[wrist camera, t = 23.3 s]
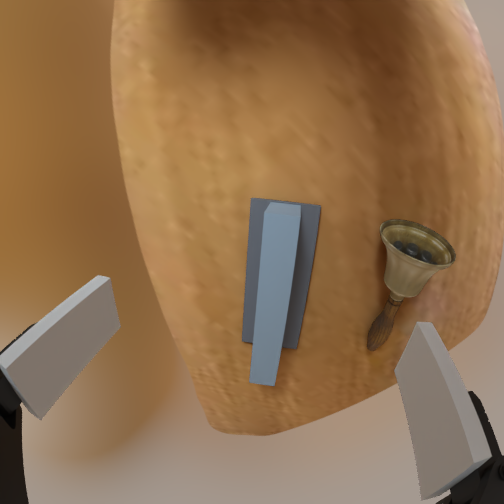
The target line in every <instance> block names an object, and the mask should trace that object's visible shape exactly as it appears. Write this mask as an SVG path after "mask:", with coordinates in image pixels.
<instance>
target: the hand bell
mask: <svg viewBox="0 0 504 504" xmlns="http://www.w3.org/2000/svg"><path fill="white" fill-rule="evenodd" d="M380 235H381V238H382V241H383V242H384V244H385V246H386V249H387V264H386V269H385V273H384V281H385V284H386V285H387V287H388V288H389V289H390V290H391V292H390V295H389V298H388V300H387V303H386V305H385V308H384V310H383V312H382V313H381V314H380V315H379V316H378V317H377V318H376V319H375V321H374V322H373V324H372V326H371V328H370V330H369V333H368V344H367V348H368V350H370V351H374V350H375V349H376V348H378V347H379V346H380V345H382V344H383V343H384V342H385V341H386V340H387V338H388V336H389V335H390V332H391V330H392V327H393V321H394V317H395V314H396V312H397V311H398V309H399V307H400V305H401V303H402V302H403V299H404V297H414V296H416V295H418V294H419V293H420V292H421V290H422V288H423V287H424V285H425V284H426V282H427V281H428V280H429V279H430V277H431V276H432V275H433V274H435V273H436V272H437V271H439V270H442V269H445V268H448V267H449V266H451V265H452V264H453V263H454V261H455V258H456V254H455V251H454V249H453V248H452V246H451V245H450V244H449V242H448V241H447V240H446V239H444V238H443V237H442V236H441V235H439V234H438V233H436V232H435V231H433V230H431V229H429V228H427V227H425V226H423V225H420V224H418V223H414V222H410V221H406V220H389V221H386V222H383V223H382V224H381V226H380Z"/></svg>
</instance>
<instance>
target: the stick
mask: <svg viewBox="0 0 504 504" xmlns="http://www.w3.org/2000/svg"><path fill="white" fill-rule="evenodd" d="M300 218H301V205H293V204H285V203H276V202H270V204H269V206H268V207H267V209H266V211H265V212H264V221H263V234H262V246H261V258H260V269H259V281H258V292H257V304H256V315H255V326H254V337H253V348H252V359H251V369H250V380H249V382H250V383H256V384H262V385H269V386H275V381H276V375H277V370H278V365H279V359H280V354H281V348H282V342H283V336H284V330H285V324H286V318H287V312H288V306H289V299H290V293H291V286H292V279H293V272H294V265H295V258H296V250H297V242H298V234H299V226H300Z"/></svg>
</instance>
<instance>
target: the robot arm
mask: <svg viewBox="0 0 504 504" xmlns="http://www.w3.org/2000/svg"><path fill="white" fill-rule="evenodd" d="M120 327H121V326H120V322H119V318H118V313H117V309H116V304H115V300H114V295H113V289H112V284H111V279H110V278H109V277H104V276H100V275H98V276H96V277H95V278H94V279H92V280H91V281H90V282H88V283H87V284H86V285H84V286H83V287H82V288H80V289H79V290H78V291H76V292H75V293H74V294H72V295H71V296H70V297H69V298H67V299H66V300H65V301H64V302H62V303H61V304H60V305H58V306H57V307H56V308H55V309H53V310H52V311H51V312H50V313H48V314H47V315H46V316H45V317H44V318H42V319H41V320H40V321H39V322H37V323H35V324H33V325H31V326H29V327H28V328H27V329H26V330H25V331H23V333H22V334H20V335H19V336H18V337H16V340H15V339H14V340H13V341H12V342H11V343H10V344H9V345H7V346H6V347H5V348H4V349H3V350H2V351H1V352H0V504H29V502H28V497H27V491H26V484H25V476H24V467H23V453H22V408H21V406H20V404H21V402H23V404H24V405H25V407H26V408H27V409H28V411H29V412H30V413H32V414H33V415H34V416H36V417H37V418H38V419H39V420H42V418H43V417H44V416H45V415H46V413H47V412H48V411H49V410H50V408H51V407H52V406H53V405H54V403H55V402H56V401H57V400H58V398H59V397H60V396H61V395H62V394H63V392H64V391H65V390H66V389H67V388H68V386H69V385H70V384H71V383H72V382H73V380H74V379H75V378H76V377H77V376H78V375H79V373H80V372H81V371H82V370H83V369H84V368H85V366H86V365H87V364H88V363H89V362H90V361H91V360H92V358H93V357H94V356H95V355H96V354H97V353H98V352H99V350H100V349H101V348H102V347H103V346H104V345H105V344H106V343H107V342H108V340H109V339H110V338H111V337H112V336H113V335H114V334H115V333H116V331H117V330H118V329H119V328H120ZM394 371H395V375H396V378H397V382H398V385H399V389H400V392H401V396H402V400H403V404H404V408H405V412H406V416H407V420H408V425H409V429H410V434H411V439H412V444H413V449H414V454H415V460H416V466H417V472H418V478H419V486H420V494H421V500H425V499H429V498H433V497H436V496H440V495H441V494H442V493H444V492H446V491H447V490H449V489H450V491H451V494H450V495H449V496H447V497H445V498H444V499H442V500H440V501H439V502H437V503H436V504H504V456H502V454H501V452H500V449H499V446H498V443H497V440H496V438H495V435H494V432H493V429H492V427H491V424H490V422H488V417H487V414H486V413H485V410H484V407H483V406H482V403H481V401H480V399H479V398H478V397H477V396H476V395H475V394H474V392H473V391H469V392H467V389H466V387H465V385H464V383H463V381H462V379H461V377H460V374H459V372H458V370H457V368H456V366H455V364H454V362H453V360H452V359H451V357H450V355H449V353H448V351H447V349H446V347H445V345H444V343H443V342H442V340H441V338H440V336H439V334H438V333H437V331H436V329H435V327H434V326H433V324H432V322H417V323H416V325H415V327H414V330H413V332H412V334H411V337H410V339H409V341H408V343H407V345H406V348H405V350H404V352H403V354H402V356H401V358H400V360H399V362H398V364H397V366H396V368H395V370H394Z"/></svg>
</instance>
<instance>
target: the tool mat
mask: <svg viewBox="0 0 504 504" xmlns="http://www.w3.org/2000/svg"><path fill="white" fill-rule="evenodd" d="M270 202H276V203H285V204H293V205H301V218H300V226H299V234H298V242H297V250H296V258H295V265H294V272H293V279H292V286H291V293H290V299H289V306H288V312H287V318H286V324H285V330H284V336H283V342H282V347H284V348H292V349H296V348H297V344H298V339H299V334H300V329H301V324H302V319H303V314H304V309H305V304H306V298H307V293H308V287H309V282H310V276H311V270H312V264H313V258H314V251H315V245H316V238H317V231H318V224H319V216H320V209H321V206H320V205H312V204H304V203H296V202H288V201H279V200H269V199H260V198H251V207H250V222H249V237H248V252H247V268H246V283H245V299H244V315H243V332H242V341H244V342H250V343H253V337H254V326H255V315H256V304H257V292H258V281H259V269H260V258H261V246H262V234H263V221H264V212H265V211H266V209H267V207H268V206H269V204H270Z"/></svg>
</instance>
